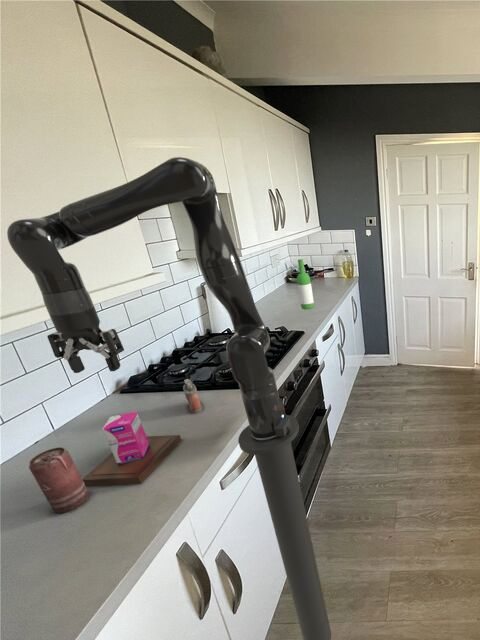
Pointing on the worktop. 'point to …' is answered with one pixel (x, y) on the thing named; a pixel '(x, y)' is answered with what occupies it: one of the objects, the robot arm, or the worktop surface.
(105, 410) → the worktop surface
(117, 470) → the board
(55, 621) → the worktop surface
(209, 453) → the worktop surface
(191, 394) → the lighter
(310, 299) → the wine bottle
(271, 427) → the robot arm
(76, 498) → the can
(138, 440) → the supplement box
